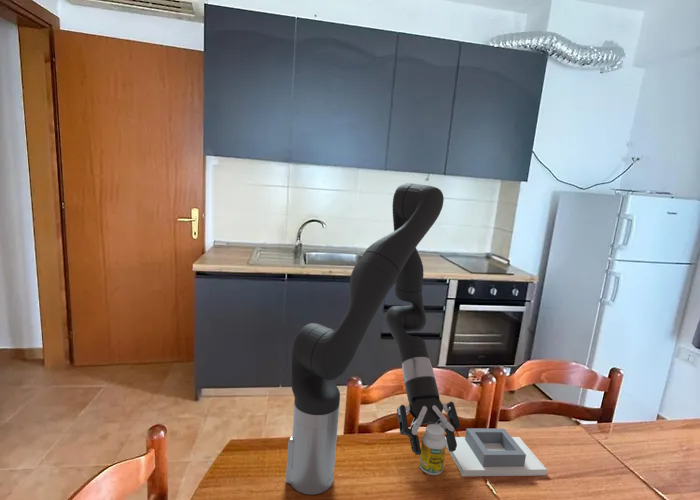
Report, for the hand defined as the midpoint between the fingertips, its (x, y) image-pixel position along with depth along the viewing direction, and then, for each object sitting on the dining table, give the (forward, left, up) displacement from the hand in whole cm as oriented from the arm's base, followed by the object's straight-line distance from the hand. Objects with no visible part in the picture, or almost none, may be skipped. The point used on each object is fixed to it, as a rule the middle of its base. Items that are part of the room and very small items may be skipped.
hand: (435, 452), depth 89 cm
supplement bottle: (-1, +1, -5) cm, 5 cm away
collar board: (+13, +10, -5) cm, 17 cm away
